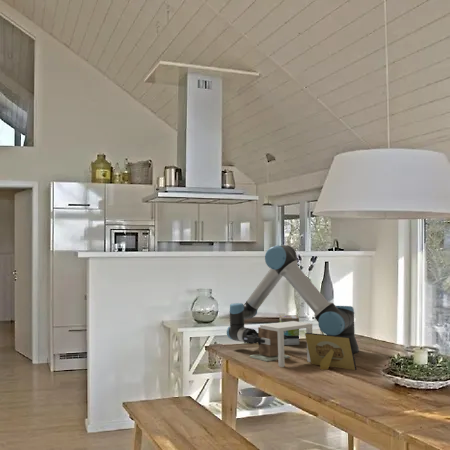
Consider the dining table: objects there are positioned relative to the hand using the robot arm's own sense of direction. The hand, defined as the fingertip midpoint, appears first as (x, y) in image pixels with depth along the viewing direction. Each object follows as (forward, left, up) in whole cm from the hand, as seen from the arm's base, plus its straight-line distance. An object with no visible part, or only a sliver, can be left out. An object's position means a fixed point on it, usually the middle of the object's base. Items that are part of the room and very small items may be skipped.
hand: (275, 341), depth 295 cm
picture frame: (-30, +11, -9) cm, 33 cm away
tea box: (+10, -44, -9) cm, 46 cm away
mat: (+4, -3, -8) cm, 10 cm away
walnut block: (+4, -3, -7) cm, 9 cm away
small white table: (-8, +5, -8) cm, 12 cm away
